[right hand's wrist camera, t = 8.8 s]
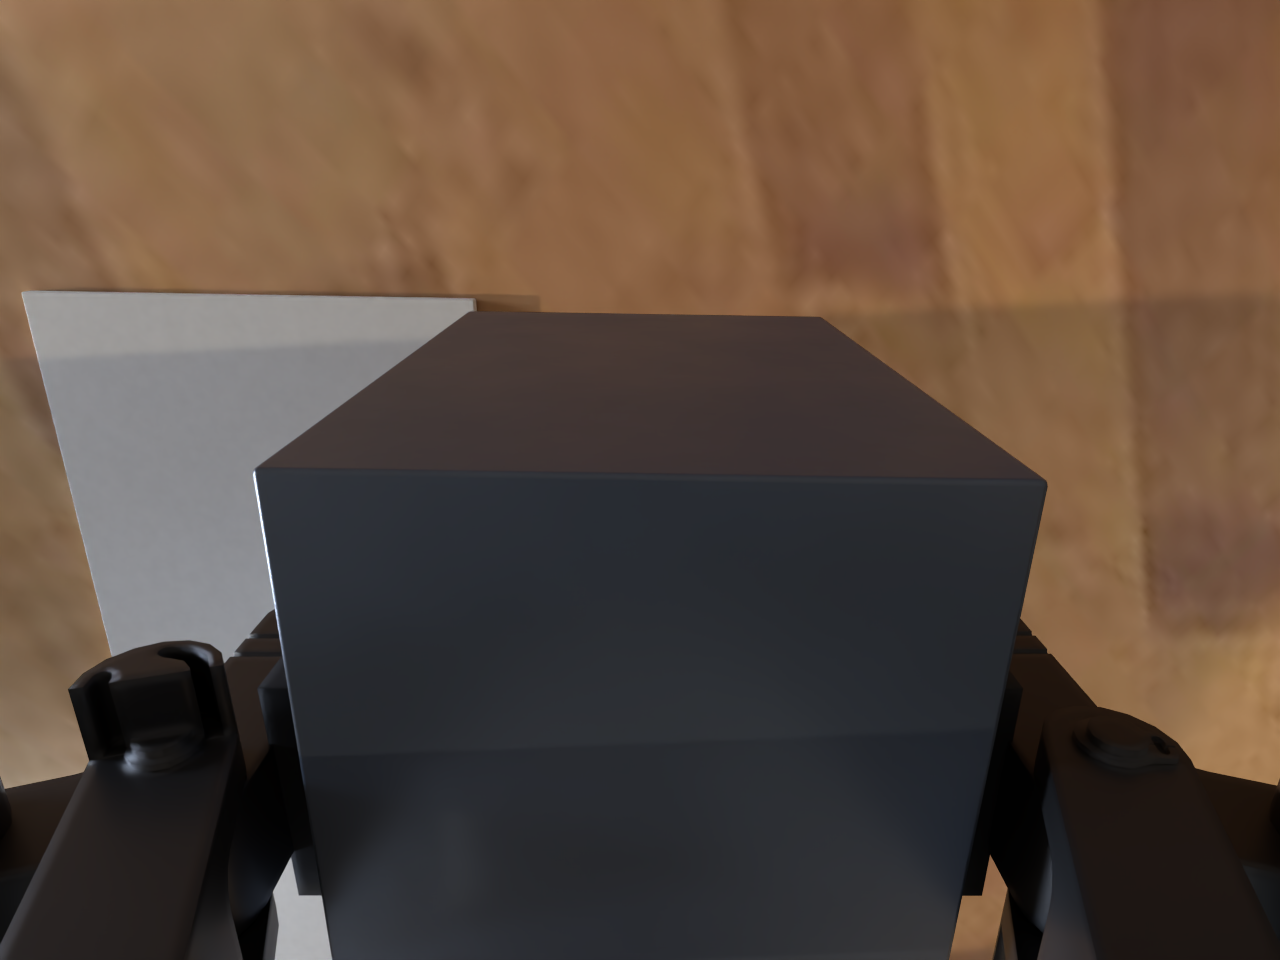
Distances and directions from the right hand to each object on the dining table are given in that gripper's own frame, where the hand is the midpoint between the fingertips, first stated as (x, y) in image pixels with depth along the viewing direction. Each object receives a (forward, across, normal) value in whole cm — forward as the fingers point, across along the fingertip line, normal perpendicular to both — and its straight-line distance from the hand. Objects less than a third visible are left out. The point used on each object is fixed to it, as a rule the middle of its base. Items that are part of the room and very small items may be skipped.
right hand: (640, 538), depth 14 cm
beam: (0, 0, -11) cm, 11 cm away
